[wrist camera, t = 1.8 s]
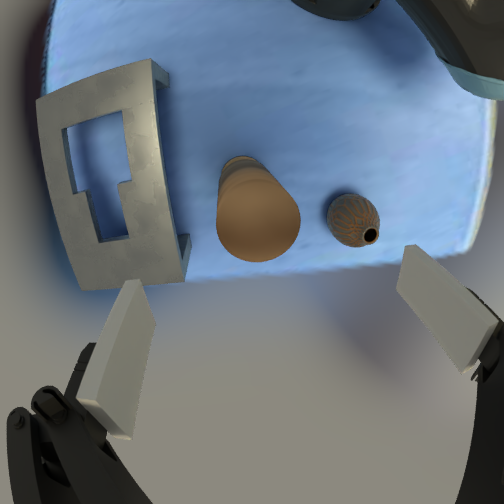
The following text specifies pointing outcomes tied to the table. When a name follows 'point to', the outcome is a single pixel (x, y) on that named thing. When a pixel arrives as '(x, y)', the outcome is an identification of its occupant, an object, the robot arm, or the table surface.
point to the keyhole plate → (131, 192)
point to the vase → (353, 220)
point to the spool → (254, 212)
